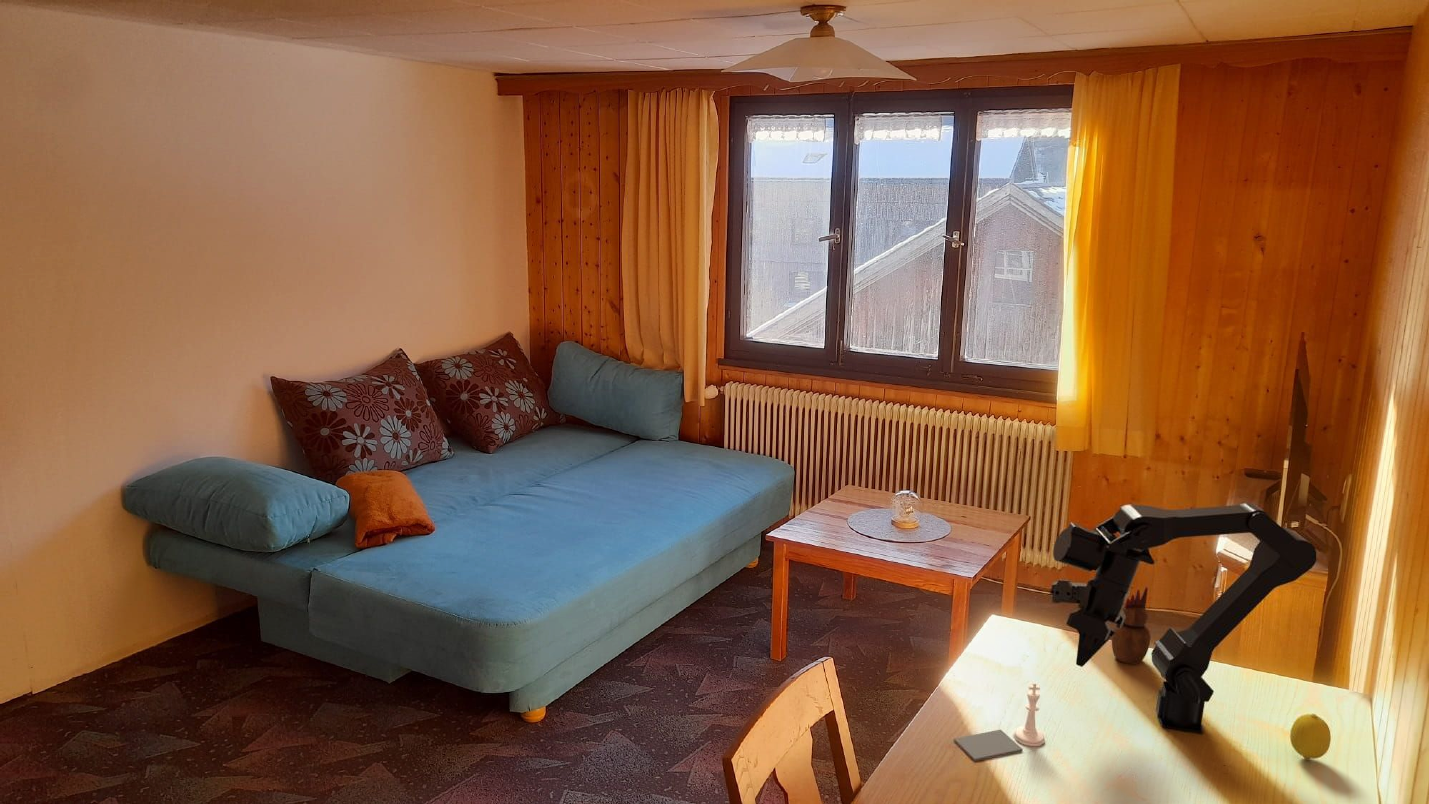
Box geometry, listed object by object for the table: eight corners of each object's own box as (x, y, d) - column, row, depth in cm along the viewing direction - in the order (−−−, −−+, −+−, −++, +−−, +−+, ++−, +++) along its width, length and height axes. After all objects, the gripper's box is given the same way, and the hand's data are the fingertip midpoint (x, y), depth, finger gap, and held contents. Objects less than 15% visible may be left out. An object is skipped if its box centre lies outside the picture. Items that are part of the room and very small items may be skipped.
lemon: (1325, 773, 158) (1334, 727, 157) (1285, 761, 161) (1293, 717, 159) (1326, 756, 163) (1334, 712, 161) (1287, 745, 166) (1295, 701, 164)
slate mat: (1000, 731, 168) (1000, 729, 168) (1022, 751, 163) (1022, 749, 163) (953, 740, 165) (953, 738, 165) (974, 761, 160) (974, 758, 160)
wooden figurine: (1145, 656, 195) (1155, 584, 192) (1147, 669, 190) (1157, 596, 186) (1108, 650, 197) (1117, 578, 194) (1109, 663, 192) (1118, 590, 189)
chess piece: (1048, 746, 164) (1054, 691, 162) (1018, 745, 164) (1023, 690, 162) (1039, 730, 169) (1045, 676, 167) (1010, 729, 169) (1015, 675, 167)
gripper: (1076, 555, 179) (1045, 636, 180) (1053, 564, 162) (1019, 652, 164) (1139, 582, 173) (1107, 664, 175) (1122, 593, 157) (1087, 684, 159)
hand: (1079, 665), depth 168 cm, fingers closed
